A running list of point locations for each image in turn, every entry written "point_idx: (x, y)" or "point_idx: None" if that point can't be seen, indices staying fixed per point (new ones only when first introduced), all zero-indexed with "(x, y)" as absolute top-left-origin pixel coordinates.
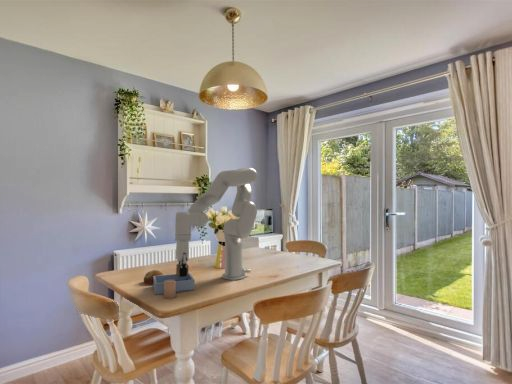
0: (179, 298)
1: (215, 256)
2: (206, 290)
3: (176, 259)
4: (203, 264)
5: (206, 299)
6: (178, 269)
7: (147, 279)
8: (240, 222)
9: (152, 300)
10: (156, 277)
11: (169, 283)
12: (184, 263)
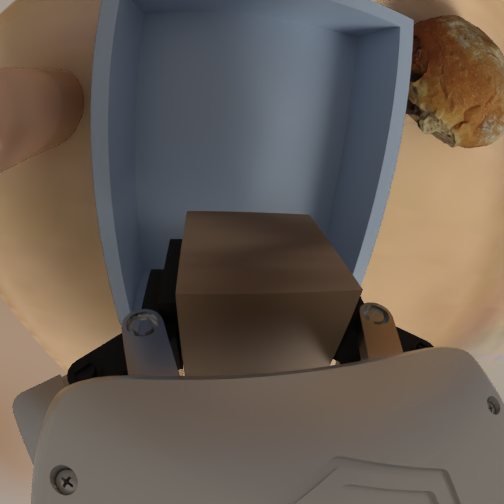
0: (17, 169)
1: (493, 363)
2: (121, 325)
3: (346, 372)
4: (480, 340)
5: (5, 291)
6: (179, 271)
7: (437, 18)
8: None
9: (41, 10)
10: (392, 39)
11: None
12: (26, 399)
